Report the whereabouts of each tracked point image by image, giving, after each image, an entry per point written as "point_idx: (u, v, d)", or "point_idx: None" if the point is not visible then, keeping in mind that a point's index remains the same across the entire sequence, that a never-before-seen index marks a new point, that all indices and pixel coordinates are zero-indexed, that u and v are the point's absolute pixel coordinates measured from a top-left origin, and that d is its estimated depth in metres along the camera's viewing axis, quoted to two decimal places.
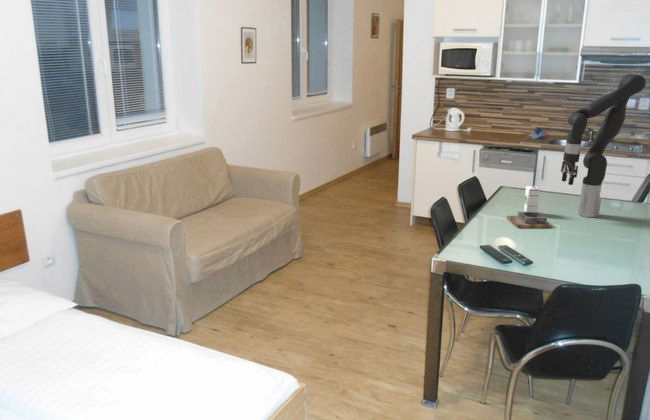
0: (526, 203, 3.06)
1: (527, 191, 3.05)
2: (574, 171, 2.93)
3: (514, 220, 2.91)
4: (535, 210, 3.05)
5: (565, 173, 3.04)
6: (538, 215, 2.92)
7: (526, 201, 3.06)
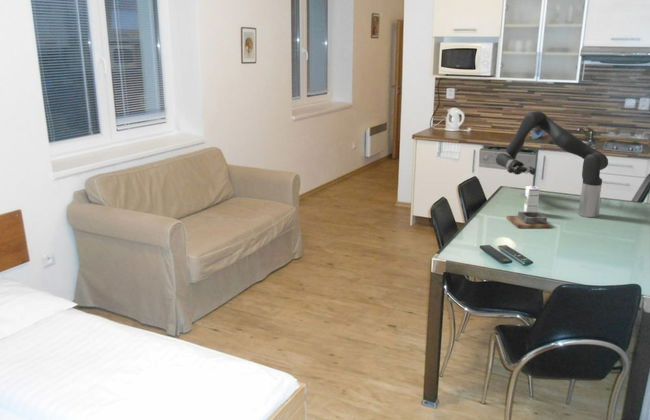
0: (526, 203, 3.06)
1: (527, 191, 3.05)
2: (508, 170, 3.21)
3: (514, 220, 2.91)
4: (535, 210, 3.05)
5: (530, 171, 3.18)
6: (538, 215, 2.92)
7: (526, 201, 3.06)
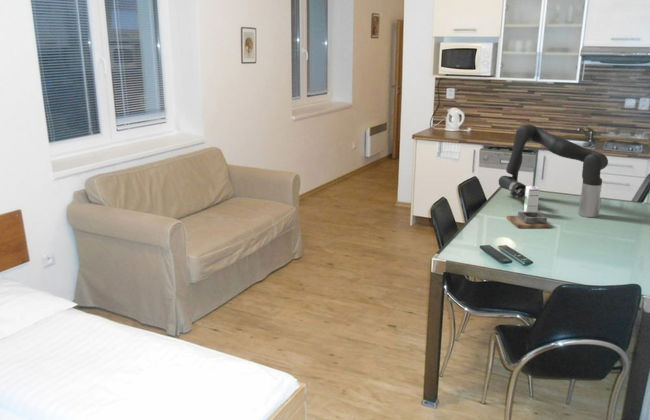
0: (526, 203, 3.06)
1: (527, 191, 3.05)
2: (511, 193, 3.17)
3: (514, 220, 2.91)
4: (535, 210, 3.05)
5: None
6: (538, 215, 2.92)
7: (526, 201, 3.06)
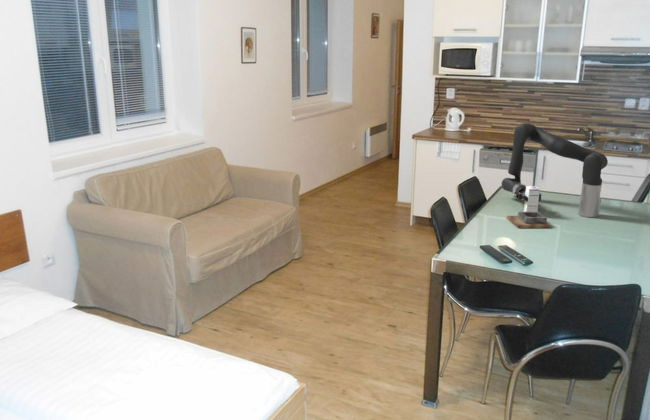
0: (526, 203, 3.06)
1: (527, 191, 3.05)
2: (516, 196, 3.11)
3: (514, 220, 2.91)
4: (535, 210, 3.05)
5: None
6: (538, 215, 2.92)
7: (526, 201, 3.06)
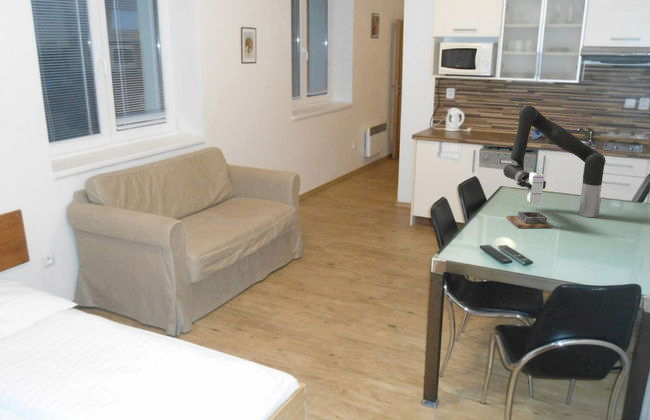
0: (530, 191, 2.87)
1: (531, 178, 2.85)
2: (519, 183, 2.91)
3: (514, 220, 2.91)
4: (539, 198, 2.86)
5: None
6: (538, 215, 2.92)
7: (530, 189, 2.86)
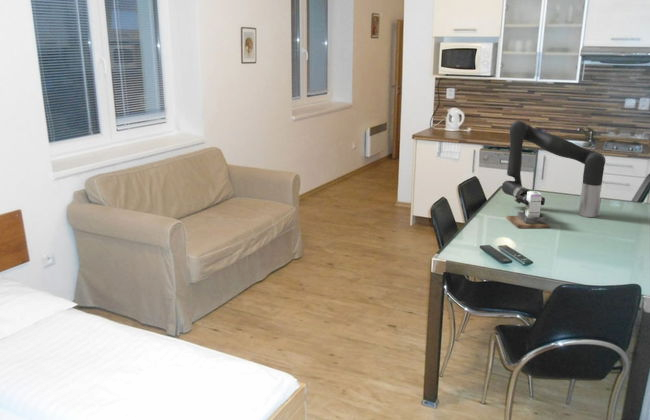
0: (527, 209, 2.89)
1: (528, 197, 2.88)
2: (516, 200, 2.94)
3: (514, 220, 2.91)
4: None
5: None
6: None
7: (527, 207, 2.89)
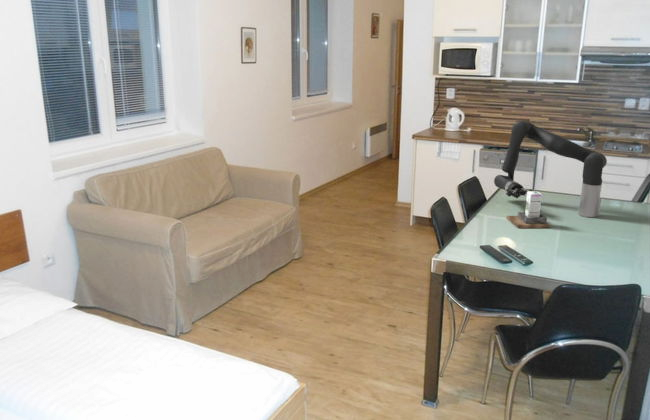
0: (527, 209, 2.89)
1: (528, 197, 2.88)
2: (507, 193, 3.06)
3: (514, 220, 2.91)
4: None
5: None
6: None
7: (527, 207, 2.89)
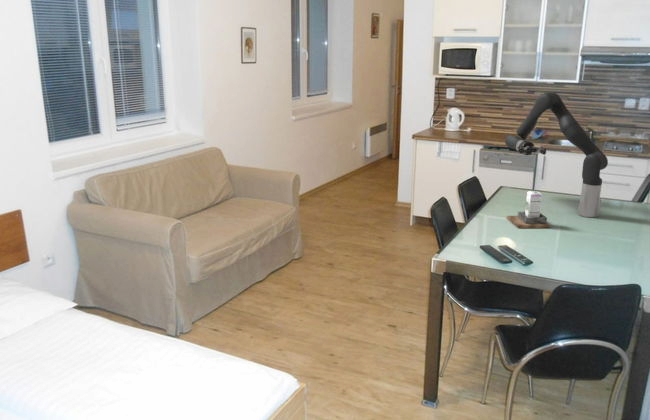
0: (527, 209, 2.89)
1: (528, 197, 2.88)
2: (518, 150, 3.12)
3: (514, 220, 2.91)
4: None
5: (541, 151, 3.09)
6: None
7: (527, 207, 2.89)
